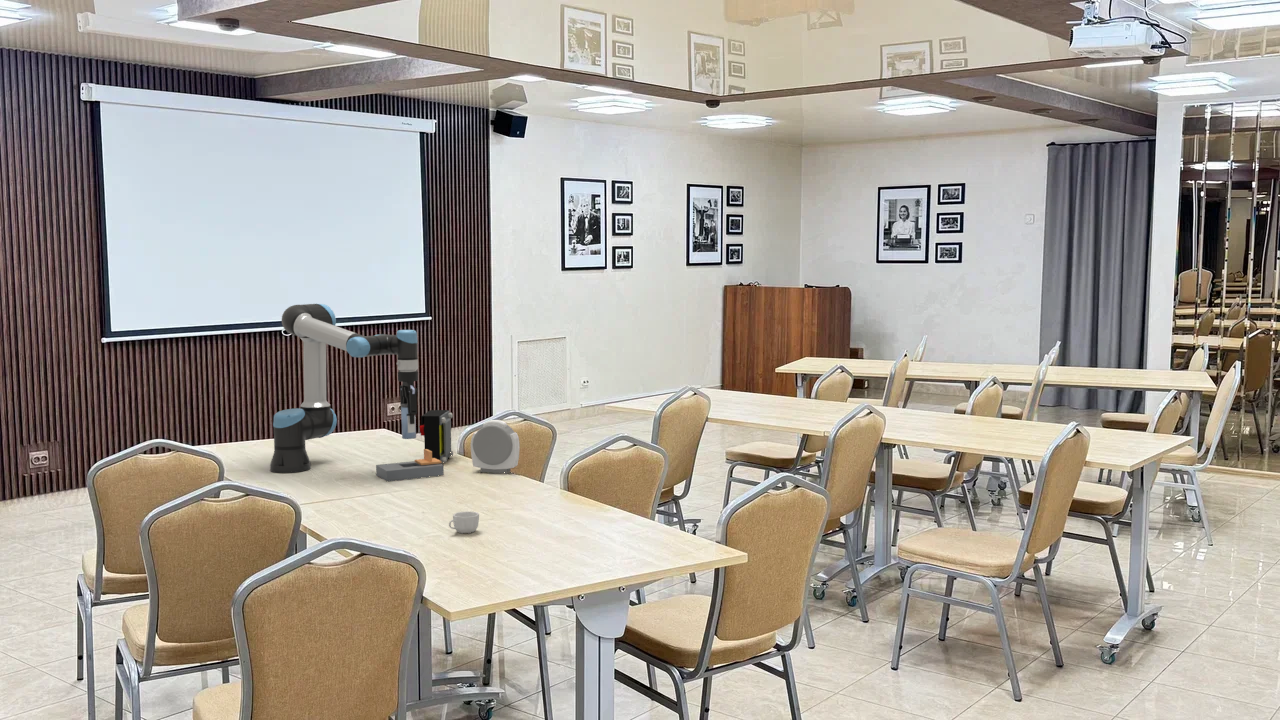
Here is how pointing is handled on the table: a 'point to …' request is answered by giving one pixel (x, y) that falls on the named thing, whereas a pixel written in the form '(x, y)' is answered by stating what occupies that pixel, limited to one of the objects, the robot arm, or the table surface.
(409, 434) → the blue canister
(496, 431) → the alarm clock
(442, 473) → the socket block
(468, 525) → the teacup
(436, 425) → the electrical component
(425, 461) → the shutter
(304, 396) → the robot arm
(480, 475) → the table surface
